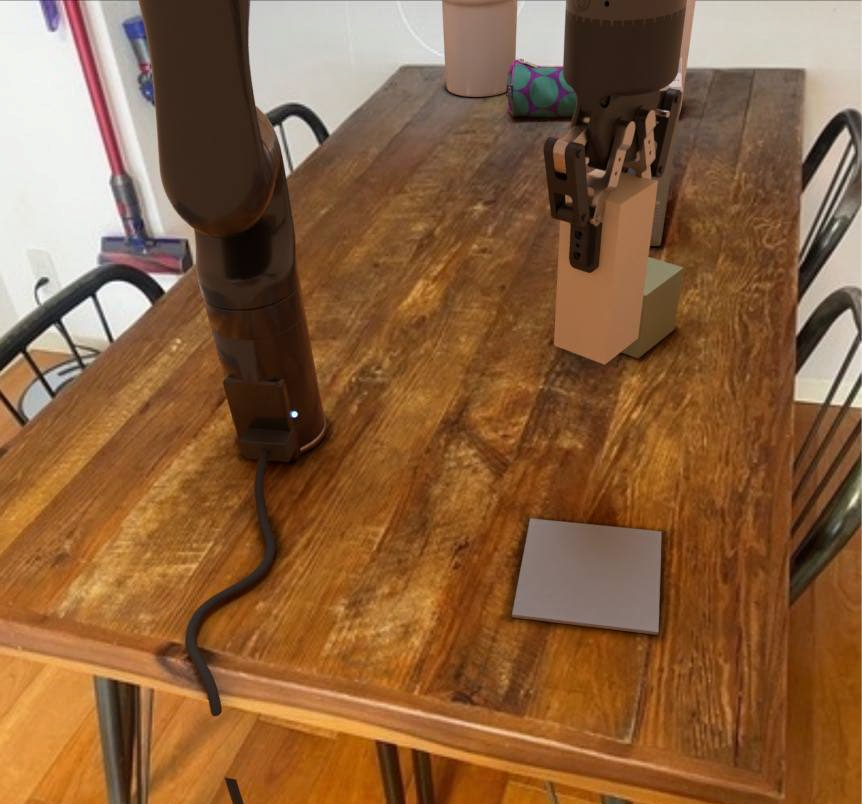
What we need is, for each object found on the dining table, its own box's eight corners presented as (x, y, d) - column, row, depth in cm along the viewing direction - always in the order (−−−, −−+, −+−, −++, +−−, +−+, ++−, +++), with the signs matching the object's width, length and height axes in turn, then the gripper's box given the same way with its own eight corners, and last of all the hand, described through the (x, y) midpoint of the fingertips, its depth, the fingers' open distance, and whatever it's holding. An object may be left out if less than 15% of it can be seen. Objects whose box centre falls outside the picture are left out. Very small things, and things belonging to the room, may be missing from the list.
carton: (561, 188, 62) (620, 204, 59) (600, 166, 65) (658, 180, 62) (553, 345, 71) (604, 365, 68) (587, 320, 74) (638, 338, 71)
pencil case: (505, 125, 156) (505, 67, 149) (507, 108, 162) (507, 52, 155) (621, 121, 154) (627, 62, 147) (618, 104, 160) (623, 47, 153)
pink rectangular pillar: (648, 108, 158) (662, -34, 143) (681, 108, 156) (700, -34, 141) (644, 119, 154) (659, -25, 139) (678, 120, 152) (697, -26, 137)
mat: (657, 635, 70) (658, 632, 69) (511, 617, 72) (511, 614, 72) (661, 534, 78) (661, 531, 78) (530, 521, 80) (530, 518, 80)
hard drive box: (661, 248, 118) (683, 92, 104) (605, 246, 119) (619, 92, 105) (663, 201, 129) (682, 54, 115) (611, 200, 130) (624, 54, 116)
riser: (566, 332, 104) (570, 270, 98) (604, 305, 108) (609, 244, 102) (637, 358, 99) (645, 295, 93) (674, 329, 103) (684, 267, 97)
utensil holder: (483, 70, 180) (481, -28, 168) (533, 84, 171) (535, -18, 159) (429, 88, 174) (423, -13, 161) (478, 104, 165) (476, -1, 153)
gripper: (614, 35, 48) (593, 307, 60) (735, -21, 56) (695, 232, 67) (508, 19, 52) (508, 278, 64) (635, -31, 59) (614, 210, 71)
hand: (604, 253), depth 66 cm, fingers closed on carton, 5 cm apart
